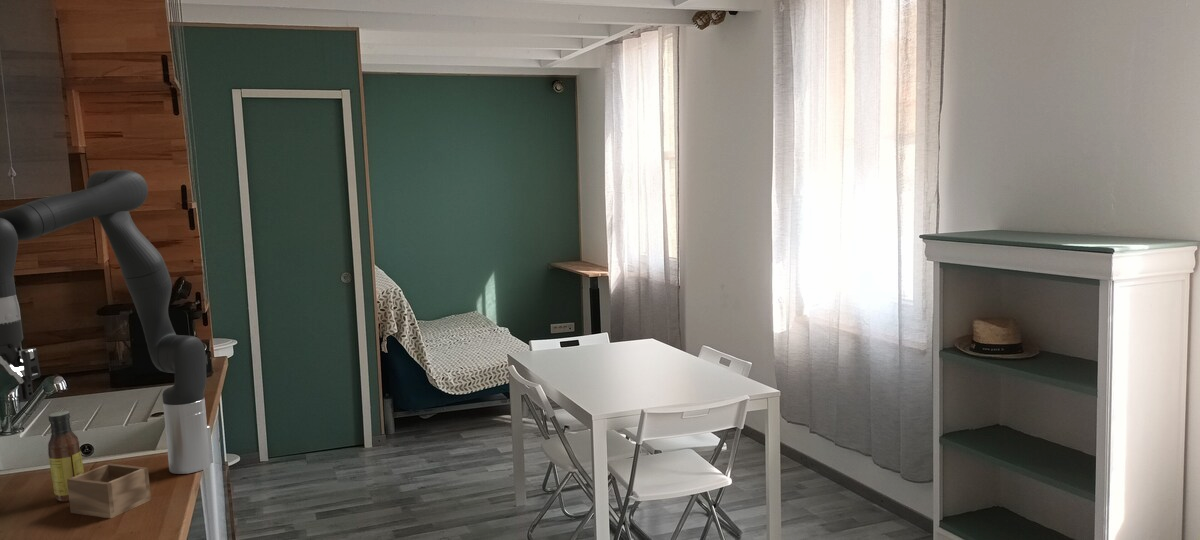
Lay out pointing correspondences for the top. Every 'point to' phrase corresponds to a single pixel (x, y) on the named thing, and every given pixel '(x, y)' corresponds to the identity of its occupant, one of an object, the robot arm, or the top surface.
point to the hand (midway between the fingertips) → (8, 400)
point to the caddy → (109, 490)
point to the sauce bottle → (63, 454)
